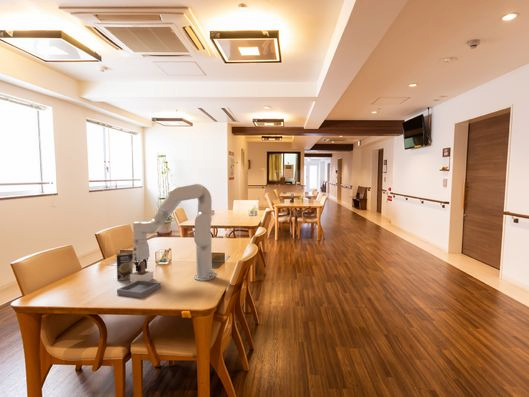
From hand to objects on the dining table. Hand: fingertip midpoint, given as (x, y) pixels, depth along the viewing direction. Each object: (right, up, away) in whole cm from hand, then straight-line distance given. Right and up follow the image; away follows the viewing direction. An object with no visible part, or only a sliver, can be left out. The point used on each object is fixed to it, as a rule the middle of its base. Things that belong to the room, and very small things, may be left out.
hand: (141, 269), depth 188 cm
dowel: (0, -7, +1) cm, 7 cm away
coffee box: (-12, -7, +5) cm, 15 cm away
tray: (+6, -8, -17) cm, 20 cm away
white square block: (0, -7, +1) cm, 7 cm away
